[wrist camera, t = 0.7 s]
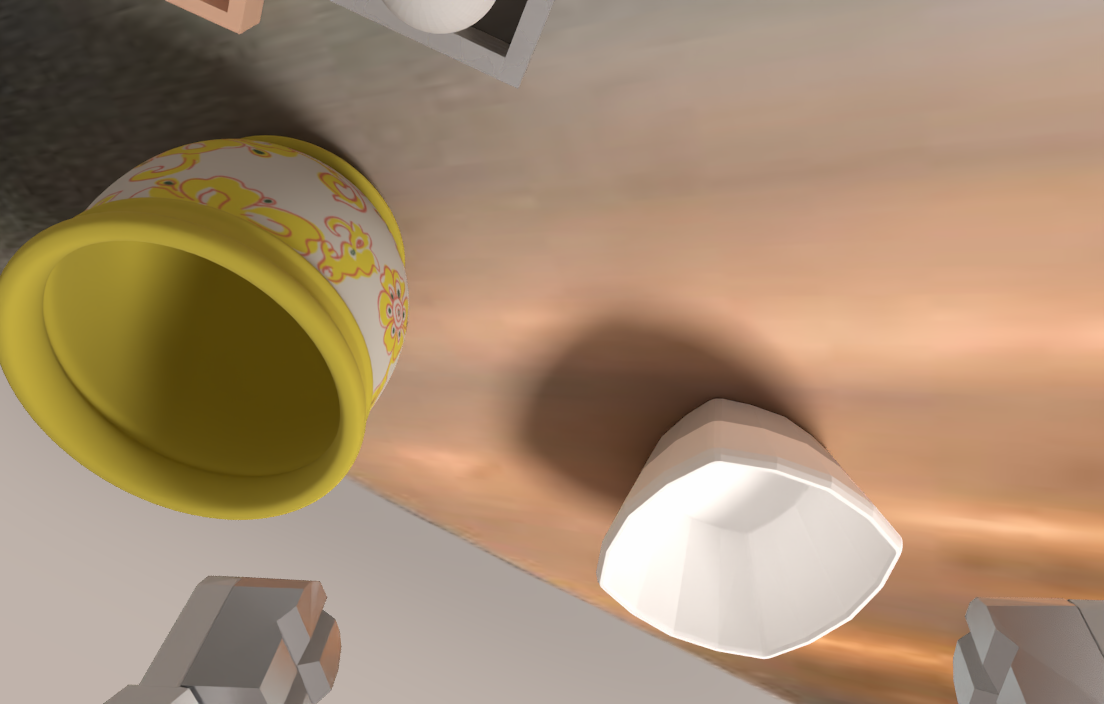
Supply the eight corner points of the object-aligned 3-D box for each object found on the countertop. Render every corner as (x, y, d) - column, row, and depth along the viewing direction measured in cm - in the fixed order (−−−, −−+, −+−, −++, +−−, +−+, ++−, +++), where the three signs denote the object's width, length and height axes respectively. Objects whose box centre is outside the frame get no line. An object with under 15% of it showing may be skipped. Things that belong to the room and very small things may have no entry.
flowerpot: (108, 206, 52) (-81, 351, 39) (284, 30, 45) (124, 135, 31) (313, 389, 59) (212, 565, 46) (496, 265, 52) (438, 432, 38)
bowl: (698, 329, 53) (705, 421, 45) (914, 442, 56) (954, 546, 48) (569, 492, 63) (556, 590, 55) (760, 579, 66) (773, 684, 58)
